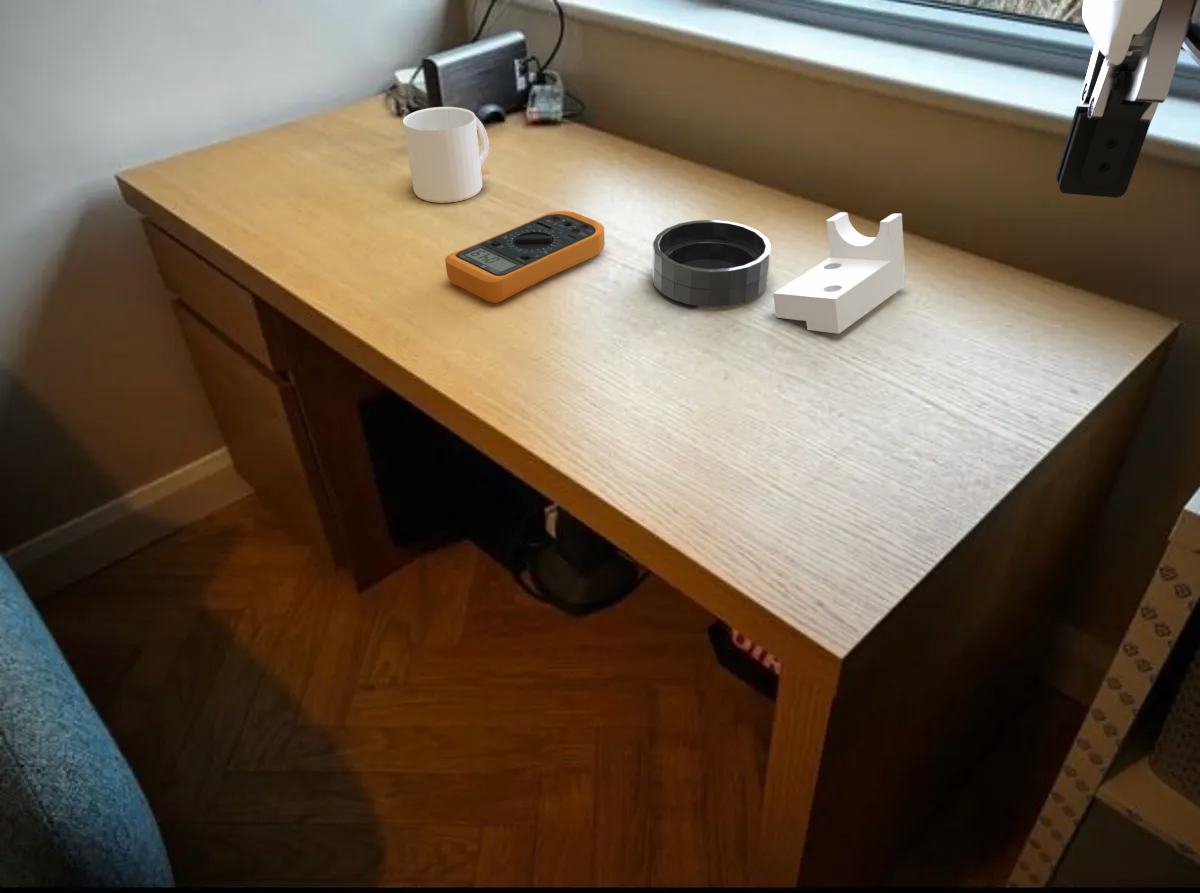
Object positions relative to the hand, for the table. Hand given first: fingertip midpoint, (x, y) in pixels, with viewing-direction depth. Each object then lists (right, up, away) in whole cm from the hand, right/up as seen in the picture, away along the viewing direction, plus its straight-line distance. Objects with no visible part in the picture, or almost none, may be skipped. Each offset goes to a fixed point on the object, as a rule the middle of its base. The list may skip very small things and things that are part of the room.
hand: (1088, 188), depth 48 cm
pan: (-14, +4, +49) cm, 52 cm away
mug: (-45, +21, +72) cm, 87 cm away
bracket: (-2, +1, +46) cm, 46 cm away
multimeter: (-34, +6, +53) cm, 63 cm away
